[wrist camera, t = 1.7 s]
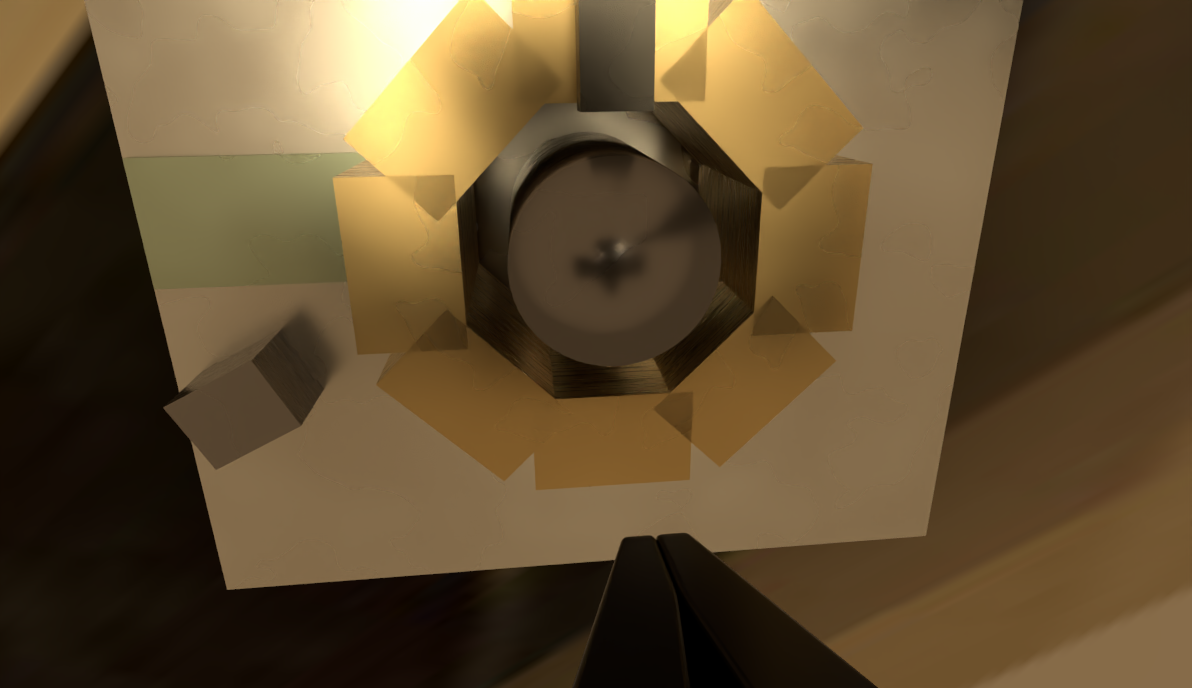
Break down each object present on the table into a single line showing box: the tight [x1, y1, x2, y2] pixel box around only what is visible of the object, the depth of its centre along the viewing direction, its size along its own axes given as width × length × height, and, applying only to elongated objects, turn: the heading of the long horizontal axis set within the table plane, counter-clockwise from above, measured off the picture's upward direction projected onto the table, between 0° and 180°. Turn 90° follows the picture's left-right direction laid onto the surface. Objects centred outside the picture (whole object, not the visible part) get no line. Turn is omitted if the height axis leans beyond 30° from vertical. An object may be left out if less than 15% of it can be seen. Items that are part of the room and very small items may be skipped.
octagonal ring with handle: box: [333, 0, 873, 490], centre depth 11 cm, size 8×15×5 cm, turn 1°
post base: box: [84, 0, 1023, 590], centre depth 13 cm, size 18×18×6 cm
